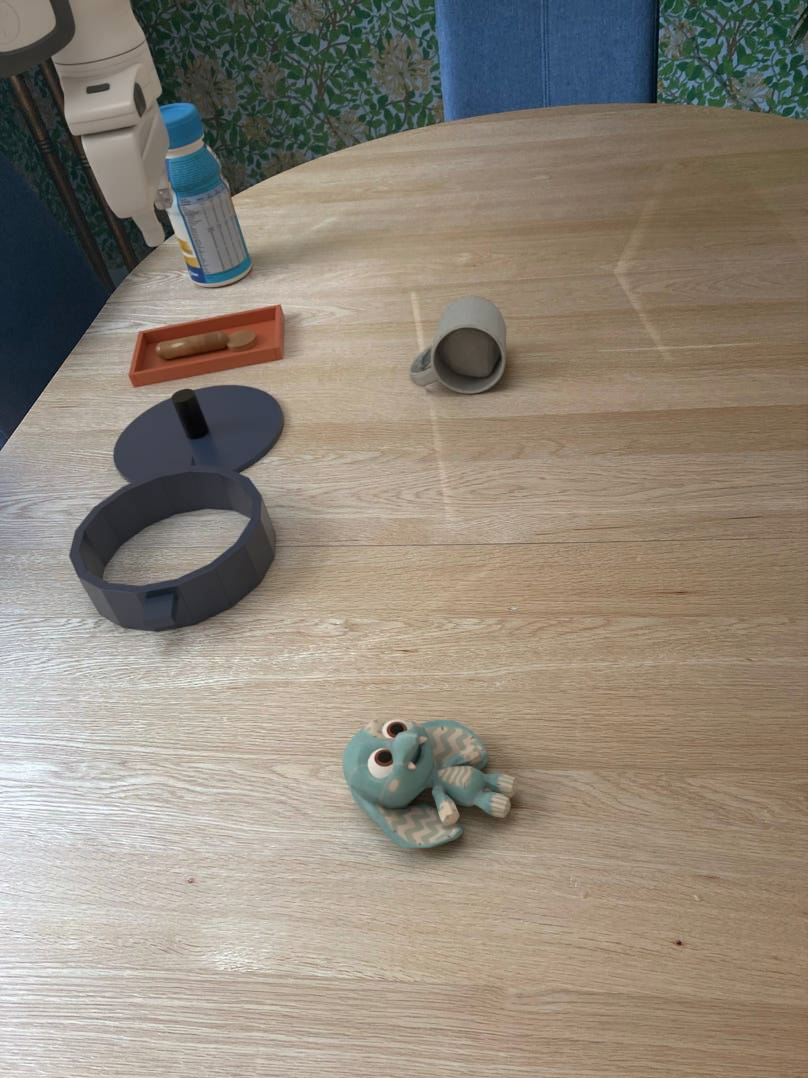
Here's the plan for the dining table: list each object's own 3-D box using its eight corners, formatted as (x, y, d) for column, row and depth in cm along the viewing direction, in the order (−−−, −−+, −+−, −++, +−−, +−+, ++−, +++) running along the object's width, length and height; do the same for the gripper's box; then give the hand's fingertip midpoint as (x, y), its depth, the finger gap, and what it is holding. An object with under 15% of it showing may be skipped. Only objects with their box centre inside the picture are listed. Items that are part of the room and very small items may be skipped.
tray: (135, 391, 115) (128, 375, 113) (145, 346, 122) (138, 331, 120) (284, 363, 114) (279, 346, 113) (285, 320, 122) (280, 303, 120)
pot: (75, 673, 84) (49, 631, 80) (111, 509, 99) (90, 468, 96) (274, 636, 84) (257, 592, 80) (279, 477, 99) (264, 435, 96)
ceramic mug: (510, 348, 110) (500, 282, 104) (510, 390, 104) (500, 322, 99) (415, 361, 111) (400, 296, 106) (409, 403, 105) (393, 336, 100)
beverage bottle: (235, 290, 129) (180, 125, 115) (179, 289, 132) (118, 127, 117) (265, 259, 134) (216, 97, 120) (210, 258, 137) (156, 99, 123)
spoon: (157, 368, 117) (151, 352, 115) (160, 352, 119) (154, 337, 118) (257, 348, 116) (252, 333, 115) (258, 333, 119) (253, 318, 118)
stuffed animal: (494, 834, 61) (308, 781, 63) (488, 890, 66) (317, 840, 68) (538, 699, 68) (369, 655, 70) (530, 760, 73) (373, 717, 75)
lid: (106, 510, 99) (82, 463, 95) (128, 411, 112) (107, 366, 108) (284, 476, 99) (267, 427, 95) (286, 381, 112) (271, 334, 108)
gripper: (94, 56, 104) (143, 191, 114) (61, 123, 90) (120, 271, 100) (154, 45, 104) (198, 181, 114) (131, 111, 90) (183, 260, 100)
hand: (161, 224), depth 107 cm, fingers open, 8 cm apart
